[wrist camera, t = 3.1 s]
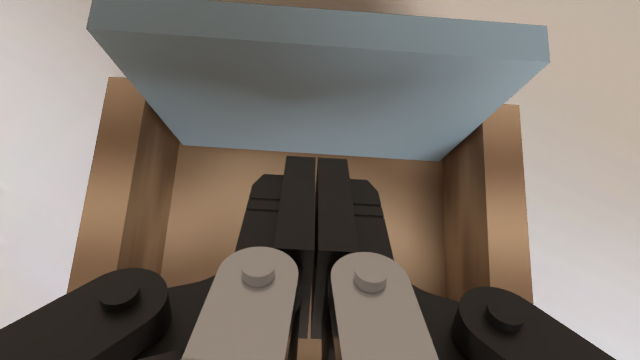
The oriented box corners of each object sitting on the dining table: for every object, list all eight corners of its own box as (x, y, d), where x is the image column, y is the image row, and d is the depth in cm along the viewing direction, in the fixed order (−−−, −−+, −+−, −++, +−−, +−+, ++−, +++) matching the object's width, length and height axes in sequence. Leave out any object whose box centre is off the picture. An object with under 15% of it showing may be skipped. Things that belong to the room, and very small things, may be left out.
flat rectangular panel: (438, 161, 22) (549, 62, 12) (183, 145, 21) (86, 28, 12) (437, 120, 22) (544, -7, 13) (188, 103, 22) (101, -41, 12)
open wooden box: (468, 491, 20) (554, 595, 13) (110, 477, 20) (10, 579, 13) (458, 155, 24) (519, 105, 18) (163, 136, 24) (109, 76, 17)
